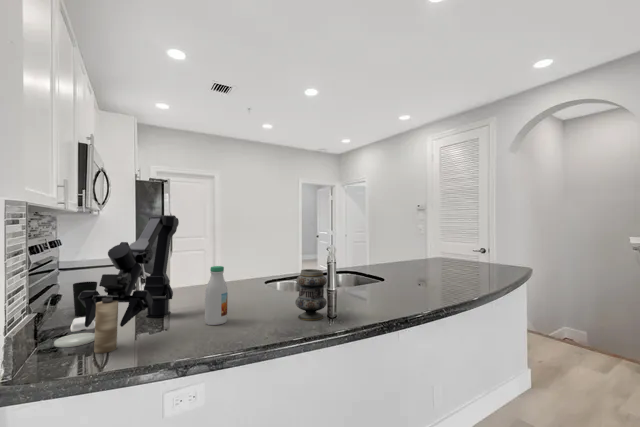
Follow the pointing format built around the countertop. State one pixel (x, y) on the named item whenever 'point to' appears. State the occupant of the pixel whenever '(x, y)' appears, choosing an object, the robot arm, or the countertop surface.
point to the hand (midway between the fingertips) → (103, 326)
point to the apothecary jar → (311, 294)
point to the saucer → (74, 340)
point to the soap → (81, 324)
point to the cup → (77, 289)
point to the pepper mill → (106, 325)
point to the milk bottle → (216, 297)
